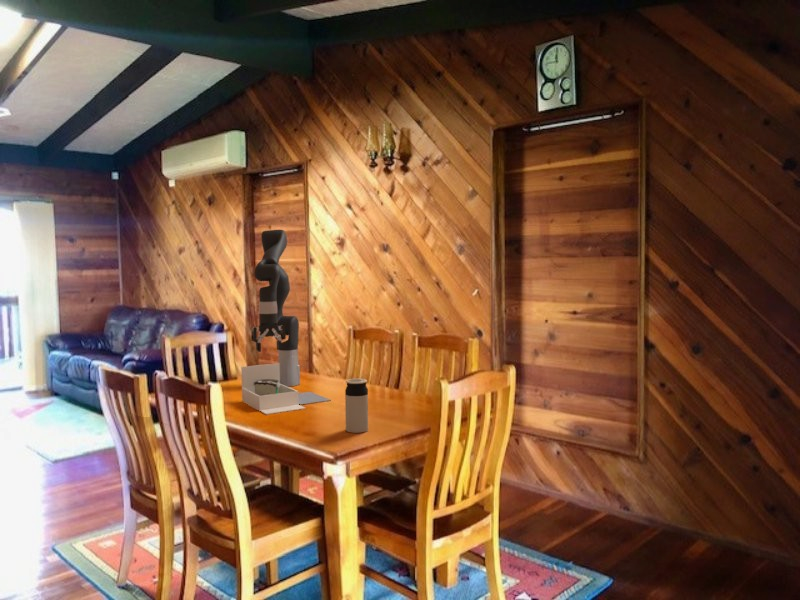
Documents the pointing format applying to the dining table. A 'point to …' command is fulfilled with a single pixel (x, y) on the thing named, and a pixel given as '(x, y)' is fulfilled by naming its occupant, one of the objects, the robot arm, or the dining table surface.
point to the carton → (268, 403)
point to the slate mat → (310, 398)
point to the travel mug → (356, 405)
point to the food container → (266, 386)
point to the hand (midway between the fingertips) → (268, 350)
